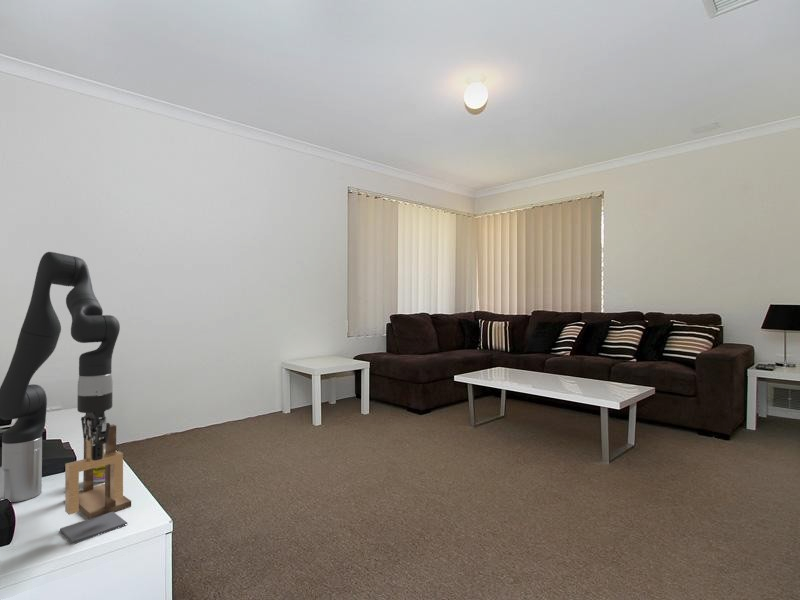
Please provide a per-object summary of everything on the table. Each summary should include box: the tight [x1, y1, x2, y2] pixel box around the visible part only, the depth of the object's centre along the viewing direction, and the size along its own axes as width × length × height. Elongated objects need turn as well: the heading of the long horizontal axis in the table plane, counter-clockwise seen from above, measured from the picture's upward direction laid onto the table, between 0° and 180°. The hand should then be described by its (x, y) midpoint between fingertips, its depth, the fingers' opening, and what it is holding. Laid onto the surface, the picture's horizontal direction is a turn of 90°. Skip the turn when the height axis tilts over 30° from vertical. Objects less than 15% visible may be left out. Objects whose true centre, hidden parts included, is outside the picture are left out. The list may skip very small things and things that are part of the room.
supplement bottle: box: [93, 443, 105, 484], centre depth 147 cm, size 7×7×13 cm
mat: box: [59, 512, 128, 545], centre depth 115 cm, size 12×10×1 cm
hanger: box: [64, 438, 124, 515], centre depth 115 cm, size 12×3×17 cm, turn 142°
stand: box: [79, 415, 132, 519], centre depth 130 cm, size 10×20×24 cm, turn 51°
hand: (94, 457), depth 115 cm, fingers closed on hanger, 3 cm apart
